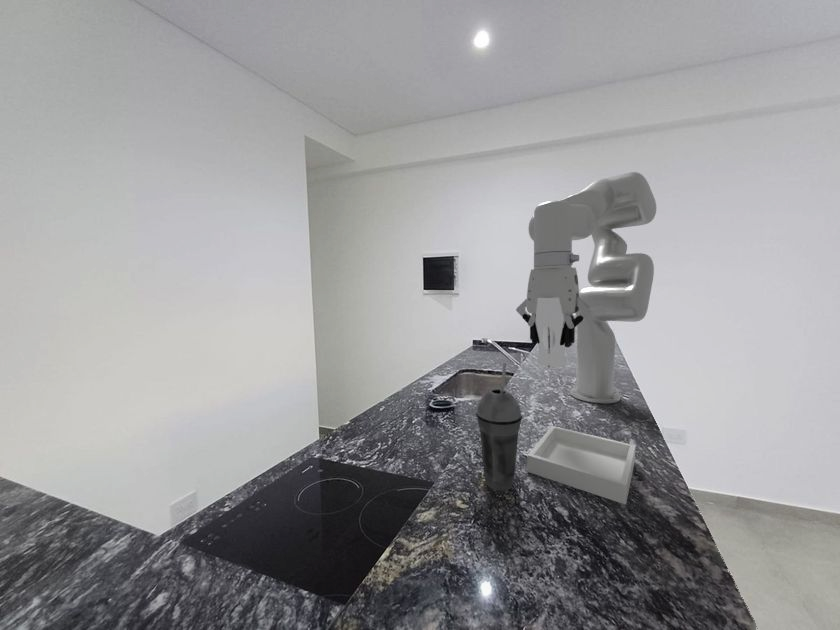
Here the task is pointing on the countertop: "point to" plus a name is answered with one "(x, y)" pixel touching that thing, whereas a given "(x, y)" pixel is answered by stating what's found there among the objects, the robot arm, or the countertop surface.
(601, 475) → the tray
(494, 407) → the beverage cup
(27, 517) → the countertop surface
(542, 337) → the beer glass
